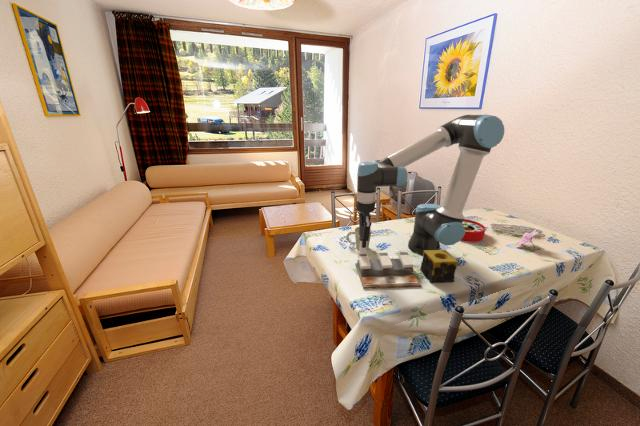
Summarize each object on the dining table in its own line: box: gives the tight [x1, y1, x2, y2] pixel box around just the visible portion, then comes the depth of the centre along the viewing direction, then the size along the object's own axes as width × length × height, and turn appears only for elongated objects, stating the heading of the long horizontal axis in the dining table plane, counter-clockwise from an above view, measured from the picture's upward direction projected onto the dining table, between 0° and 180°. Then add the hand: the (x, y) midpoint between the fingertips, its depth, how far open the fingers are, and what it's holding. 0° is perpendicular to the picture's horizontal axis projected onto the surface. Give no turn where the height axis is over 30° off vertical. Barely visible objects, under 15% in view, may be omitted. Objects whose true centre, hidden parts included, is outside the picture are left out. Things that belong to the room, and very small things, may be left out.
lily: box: [516, 229, 539, 250], centre depth 139 cm, size 12×12×10 cm
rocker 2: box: [397, 251, 415, 268], centre depth 118 cm, size 4×8×2 cm, turn 3°
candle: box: [419, 249, 459, 284], centre depth 114 cm, size 10×10×10 cm
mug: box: [345, 226, 373, 251], centre depth 139 cm, size 8×13×10 cm, turn 78°
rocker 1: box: [357, 252, 371, 269], centre depth 117 cm, size 4×8×2 cm, turn 3°
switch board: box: [354, 258, 422, 290], centre depth 116 cm, size 23×18×4 cm
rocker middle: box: [377, 252, 392, 268], centre depth 118 cm, size 4×8×2 cm, turn 3°
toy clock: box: [459, 218, 486, 243], centre depth 155 cm, size 20×6×20 cm
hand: (362, 252), depth 119 cm, fingers closed
